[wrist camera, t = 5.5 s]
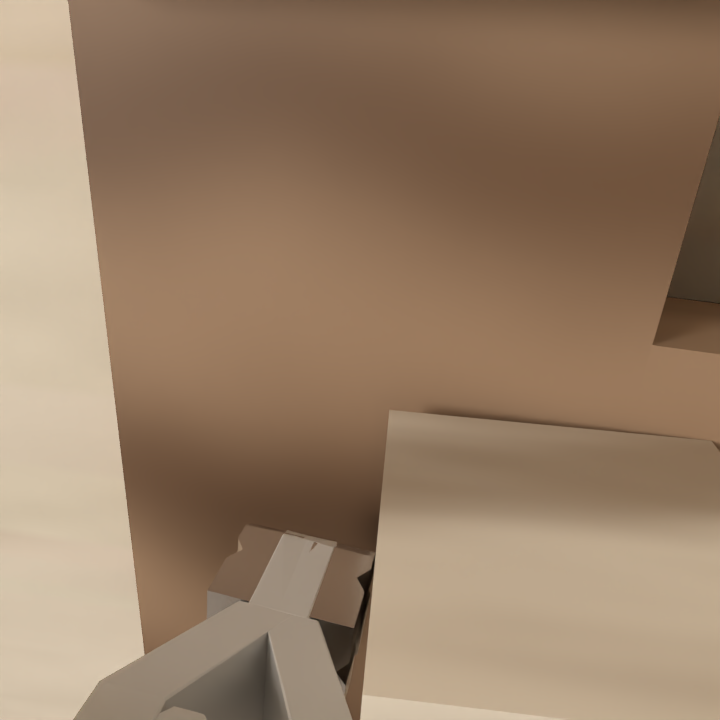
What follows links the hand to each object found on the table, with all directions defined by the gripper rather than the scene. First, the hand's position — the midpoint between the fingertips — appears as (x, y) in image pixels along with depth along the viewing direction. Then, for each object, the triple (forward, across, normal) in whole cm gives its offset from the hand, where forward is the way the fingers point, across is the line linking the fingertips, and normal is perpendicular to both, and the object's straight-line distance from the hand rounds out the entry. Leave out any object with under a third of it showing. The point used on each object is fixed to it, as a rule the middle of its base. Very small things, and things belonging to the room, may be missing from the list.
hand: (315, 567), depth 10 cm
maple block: (+1, -3, 0) cm, 4 cm away
